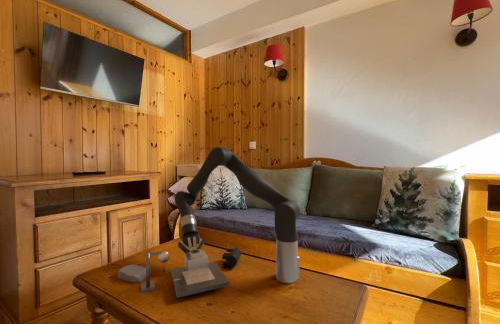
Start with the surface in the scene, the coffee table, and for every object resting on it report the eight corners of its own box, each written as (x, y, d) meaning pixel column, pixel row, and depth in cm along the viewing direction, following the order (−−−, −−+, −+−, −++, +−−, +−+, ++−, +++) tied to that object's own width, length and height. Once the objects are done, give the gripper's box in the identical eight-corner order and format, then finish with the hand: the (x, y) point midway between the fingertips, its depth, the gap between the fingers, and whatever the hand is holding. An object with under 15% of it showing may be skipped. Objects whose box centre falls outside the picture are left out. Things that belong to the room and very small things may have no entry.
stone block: (133, 273, 113) (114, 279, 104) (135, 262, 114) (117, 267, 105) (153, 279, 109) (135, 285, 99) (155, 268, 109) (137, 273, 100)
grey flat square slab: (214, 264, 114) (214, 261, 114) (229, 285, 96) (229, 281, 96) (170, 272, 106) (170, 269, 105) (176, 297, 87) (176, 293, 87)
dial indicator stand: (168, 280, 103) (168, 247, 103) (170, 286, 98) (170, 251, 98) (141, 286, 98) (141, 251, 98) (141, 292, 94) (141, 256, 94)
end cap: (236, 270, 113) (236, 255, 113) (222, 268, 114) (222, 254, 114) (241, 260, 123) (241, 247, 123) (227, 259, 124) (227, 246, 124)
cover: (203, 265, 110) (203, 246, 109) (208, 273, 102) (208, 253, 102) (184, 268, 106) (184, 249, 106) (188, 277, 99) (188, 256, 98)
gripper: (175, 224, 114) (179, 260, 103) (203, 221, 119) (210, 255, 109) (174, 231, 119) (178, 267, 108) (201, 228, 124) (207, 262, 114)
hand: (194, 261), depth 108 cm, fingers closed
